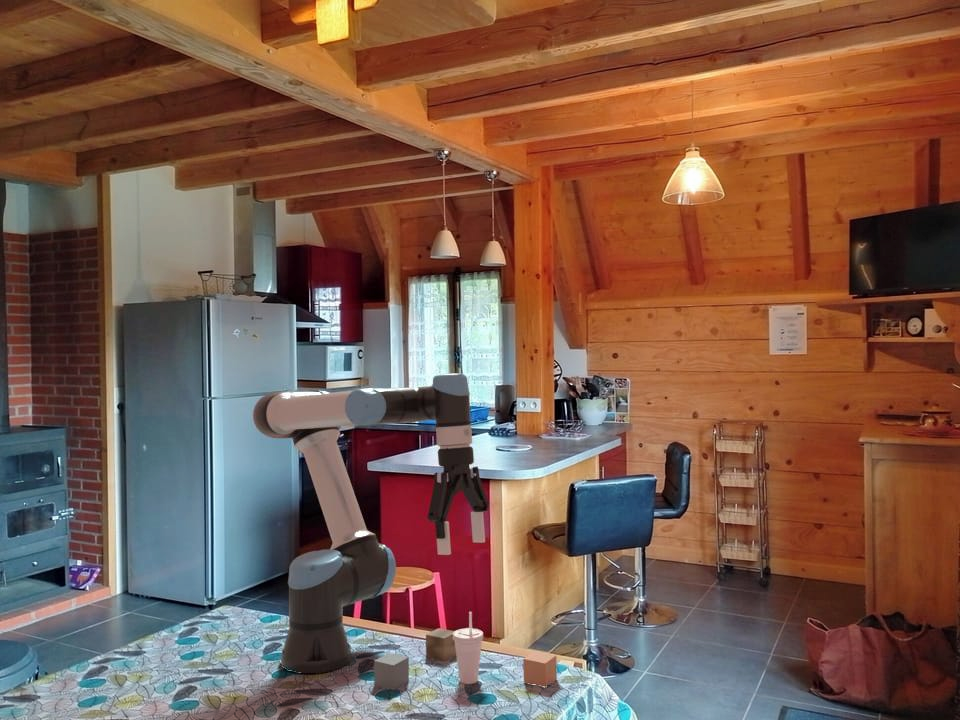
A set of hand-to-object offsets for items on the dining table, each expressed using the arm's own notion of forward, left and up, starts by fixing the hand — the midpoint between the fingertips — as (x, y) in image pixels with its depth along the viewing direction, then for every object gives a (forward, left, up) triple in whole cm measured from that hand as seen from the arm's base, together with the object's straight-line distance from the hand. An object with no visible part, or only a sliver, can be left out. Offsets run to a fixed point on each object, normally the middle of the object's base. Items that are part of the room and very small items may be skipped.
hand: (462, 548), depth 157 cm
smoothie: (+2, -1, -27) cm, 27 cm away
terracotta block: (+15, +6, -27) cm, 31 cm away
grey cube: (-11, -10, -27) cm, 31 cm away
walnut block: (-11, +8, -27) cm, 30 cm away
